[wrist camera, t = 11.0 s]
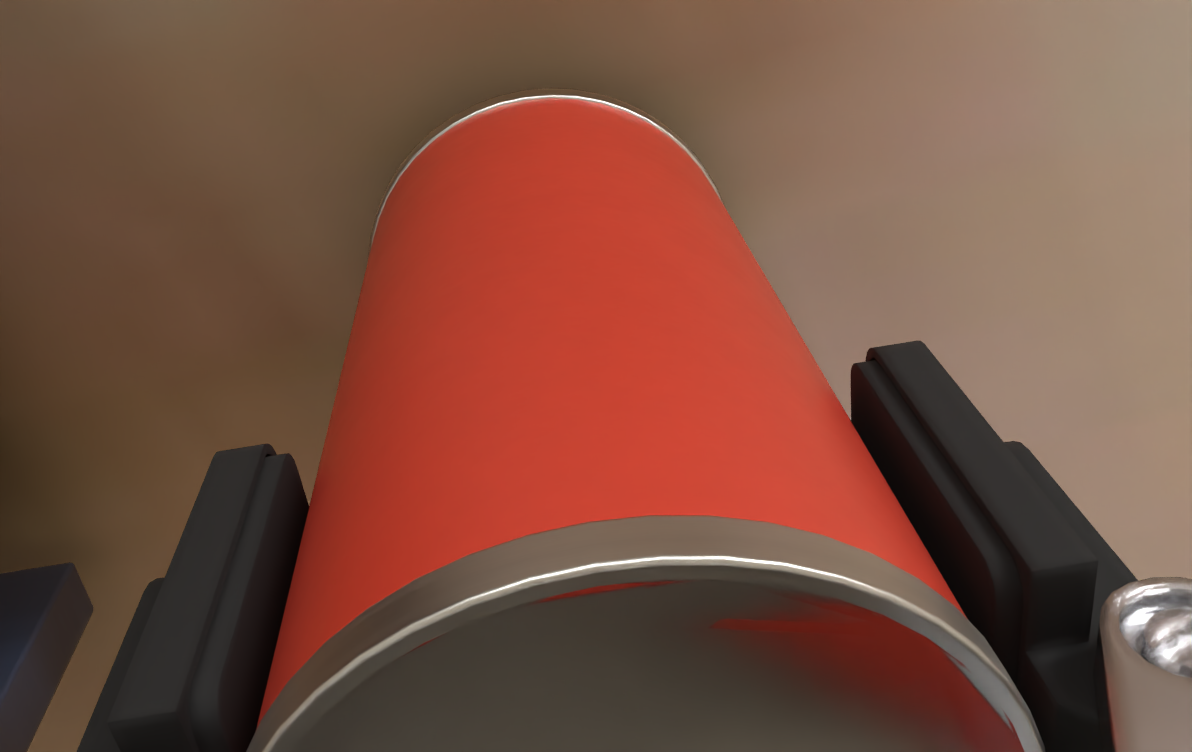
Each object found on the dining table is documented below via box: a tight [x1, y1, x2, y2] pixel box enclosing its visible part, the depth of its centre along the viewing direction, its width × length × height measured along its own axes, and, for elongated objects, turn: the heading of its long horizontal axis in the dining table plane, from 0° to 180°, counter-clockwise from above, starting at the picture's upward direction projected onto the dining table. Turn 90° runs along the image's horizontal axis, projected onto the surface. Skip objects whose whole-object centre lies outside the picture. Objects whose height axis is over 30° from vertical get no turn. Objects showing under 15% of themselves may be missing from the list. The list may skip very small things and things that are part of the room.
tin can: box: [246, 88, 1045, 752], centre depth 13 cm, size 6×6×12 cm
